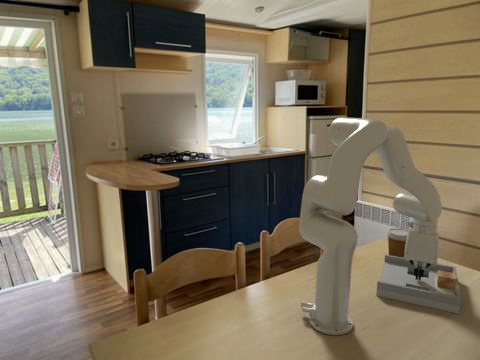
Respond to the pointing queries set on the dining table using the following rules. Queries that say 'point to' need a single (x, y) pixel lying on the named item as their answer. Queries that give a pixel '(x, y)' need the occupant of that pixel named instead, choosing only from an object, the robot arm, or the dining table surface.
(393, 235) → the disposable coffee cup
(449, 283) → the block
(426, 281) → the box
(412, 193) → the robot arm
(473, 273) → the dining table surface
